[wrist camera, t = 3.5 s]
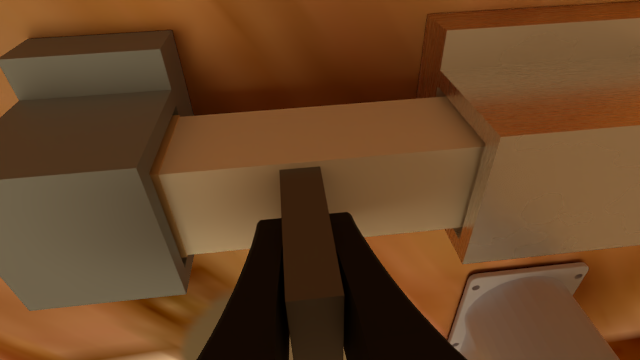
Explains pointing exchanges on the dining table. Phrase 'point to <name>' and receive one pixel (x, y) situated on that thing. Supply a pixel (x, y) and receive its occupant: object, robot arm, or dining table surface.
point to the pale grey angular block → (315, 189)
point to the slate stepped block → (88, 169)
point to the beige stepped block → (544, 125)
